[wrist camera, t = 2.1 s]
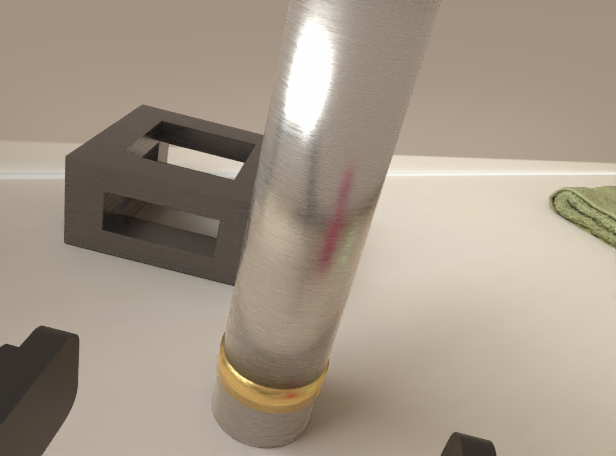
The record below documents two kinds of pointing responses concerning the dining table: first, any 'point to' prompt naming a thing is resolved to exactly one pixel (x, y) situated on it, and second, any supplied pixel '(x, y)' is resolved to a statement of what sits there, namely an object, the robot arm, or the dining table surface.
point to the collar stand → (160, 192)
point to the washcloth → (588, 210)
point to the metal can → (314, 204)
